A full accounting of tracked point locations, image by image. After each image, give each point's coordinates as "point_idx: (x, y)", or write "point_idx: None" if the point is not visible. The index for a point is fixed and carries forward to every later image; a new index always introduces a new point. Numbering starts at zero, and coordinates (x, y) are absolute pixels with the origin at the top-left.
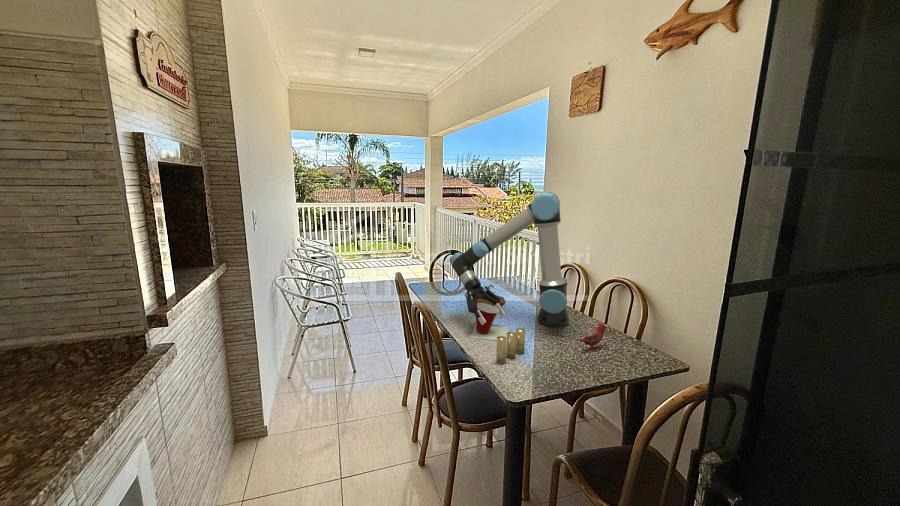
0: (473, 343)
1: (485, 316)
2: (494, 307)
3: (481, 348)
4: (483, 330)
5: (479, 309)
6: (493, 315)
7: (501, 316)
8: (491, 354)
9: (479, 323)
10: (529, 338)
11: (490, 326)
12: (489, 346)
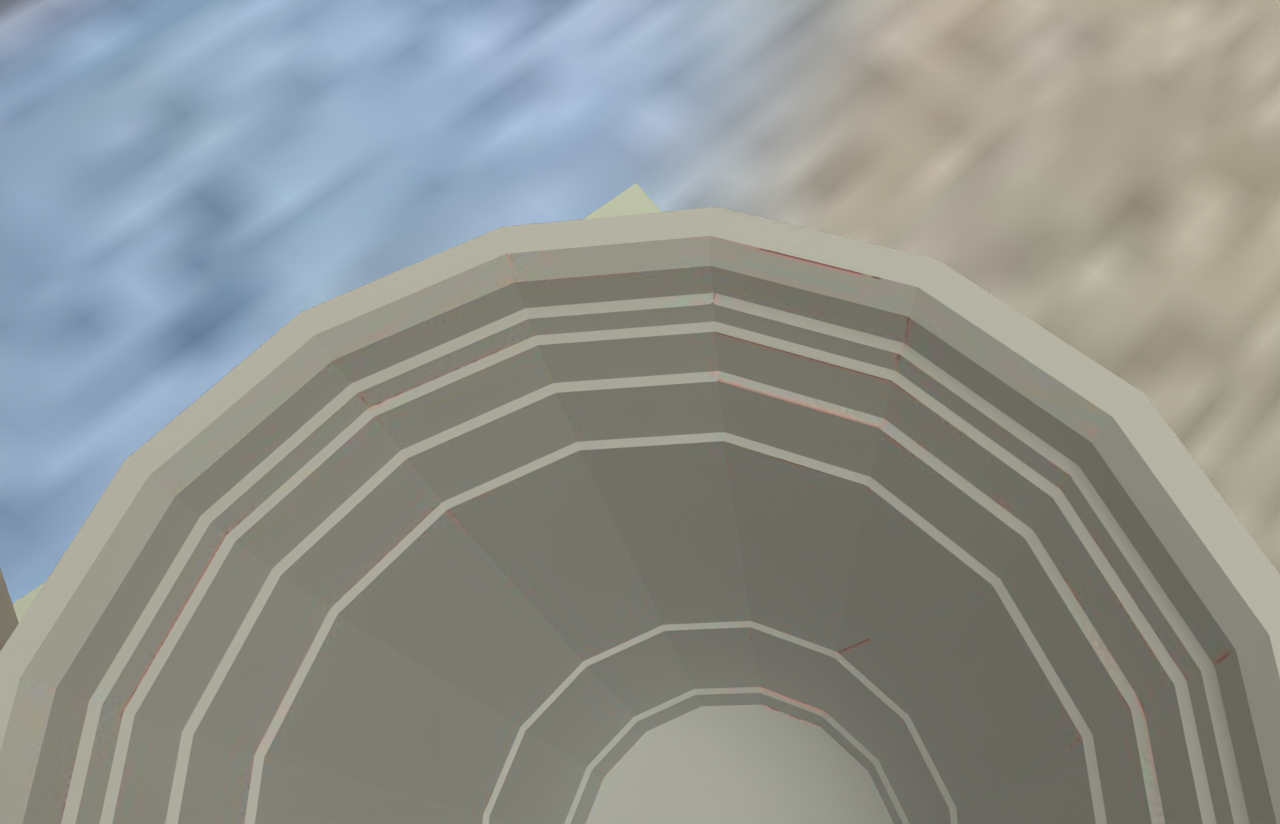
0: (1272, 556)
1: (964, 529)
2: (7, 814)
3: (1261, 277)
4: (845, 702)
5: (1269, 804)
6: (650, 359)
7: (3, 634)
8: (1244, 8)
9: (983, 804)
10: (149, 14)
11: (633, 620)
12: (1064, 243)
